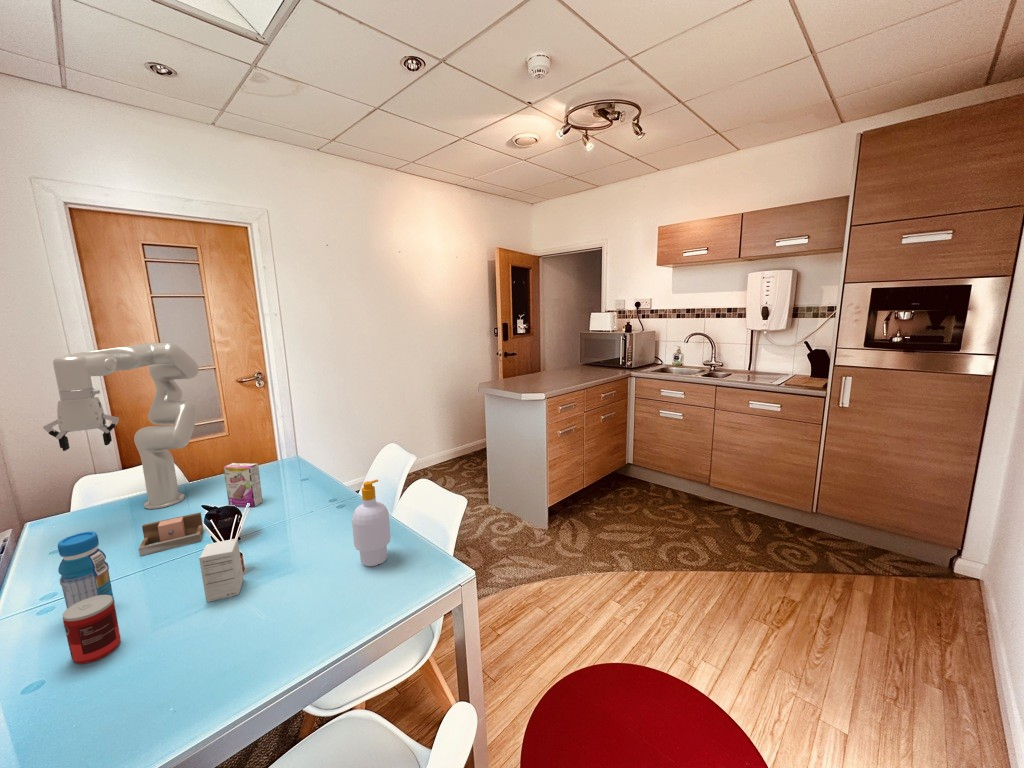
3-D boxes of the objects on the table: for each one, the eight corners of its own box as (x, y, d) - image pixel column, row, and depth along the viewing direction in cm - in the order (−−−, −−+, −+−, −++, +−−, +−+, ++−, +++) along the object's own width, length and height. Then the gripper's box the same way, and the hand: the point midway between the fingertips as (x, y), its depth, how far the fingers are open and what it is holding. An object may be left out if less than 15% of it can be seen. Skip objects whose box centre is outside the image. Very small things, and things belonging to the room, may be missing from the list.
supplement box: (212, 586, 112) (206, 543, 110) (244, 579, 115) (238, 537, 113) (205, 603, 106) (197, 557, 104) (239, 595, 109) (232, 550, 107)
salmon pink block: (163, 541, 137) (159, 521, 136) (186, 536, 140) (182, 516, 139) (160, 548, 133) (157, 527, 132) (184, 542, 136) (181, 522, 135)
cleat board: (146, 543, 136) (143, 524, 135) (203, 529, 144) (200, 512, 143) (139, 556, 128) (136, 536, 127) (200, 541, 136) (197, 523, 135)
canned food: (93, 639, 95) (84, 595, 93) (131, 636, 95) (122, 592, 93) (60, 666, 87) (50, 620, 85) (101, 663, 88) (91, 616, 86)
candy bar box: (228, 507, 161) (222, 467, 159) (237, 501, 166) (232, 462, 163) (254, 507, 160) (249, 467, 157) (263, 502, 165) (258, 462, 162)
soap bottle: (398, 558, 123) (393, 482, 119) (366, 574, 116) (359, 493, 112) (381, 546, 130) (375, 473, 126) (349, 560, 123) (342, 483, 119)
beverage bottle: (73, 629, 98) (56, 551, 95) (63, 616, 102) (47, 541, 99) (120, 607, 105) (106, 534, 102) (109, 596, 109) (95, 526, 106)
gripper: (117, 390, 139) (125, 439, 141) (43, 396, 130) (54, 449, 132) (110, 393, 132) (120, 445, 135) (32, 400, 123) (44, 455, 126)
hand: (87, 447), depth 134 cm, fingers open, 9 cm apart
